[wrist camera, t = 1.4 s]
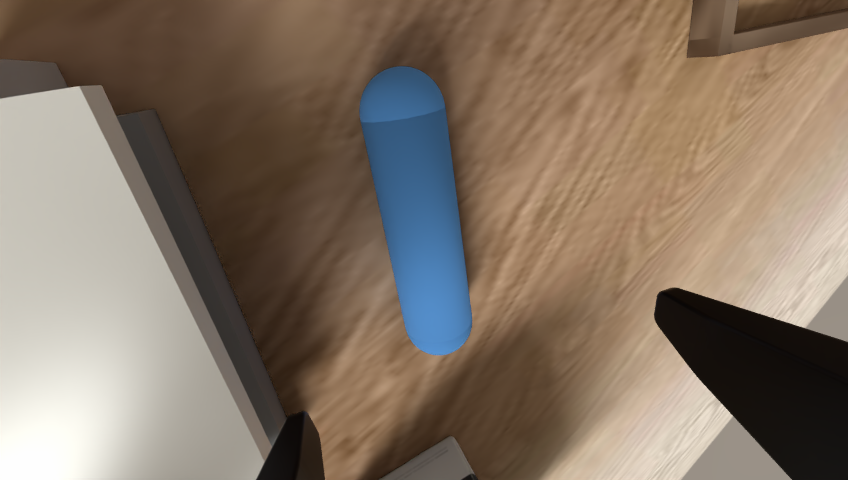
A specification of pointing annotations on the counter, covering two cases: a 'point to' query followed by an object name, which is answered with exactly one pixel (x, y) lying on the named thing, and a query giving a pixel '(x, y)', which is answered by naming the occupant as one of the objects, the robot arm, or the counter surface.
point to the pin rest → (749, 29)
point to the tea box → (436, 464)
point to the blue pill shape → (418, 205)
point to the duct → (175, 233)
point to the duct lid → (104, 314)
